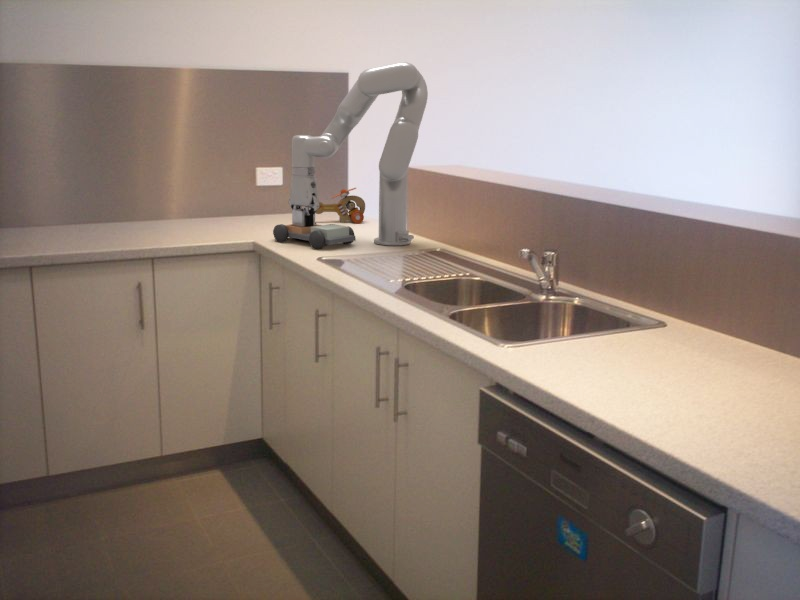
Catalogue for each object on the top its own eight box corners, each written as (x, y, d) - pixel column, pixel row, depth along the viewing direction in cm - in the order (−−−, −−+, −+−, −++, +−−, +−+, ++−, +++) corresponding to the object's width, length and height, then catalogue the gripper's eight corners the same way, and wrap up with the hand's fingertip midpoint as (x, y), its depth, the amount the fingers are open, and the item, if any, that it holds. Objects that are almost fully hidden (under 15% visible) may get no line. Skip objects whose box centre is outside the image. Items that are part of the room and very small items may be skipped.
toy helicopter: (366, 223, 344) (366, 188, 341) (313, 224, 340) (313, 188, 337) (363, 220, 352) (363, 186, 349) (311, 221, 348) (311, 186, 345)
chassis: (358, 245, 296) (358, 226, 295) (325, 251, 285) (325, 231, 284) (302, 235, 314) (302, 217, 313) (269, 240, 303) (269, 221, 302)
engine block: (315, 227, 303) (315, 208, 301) (302, 229, 298) (302, 209, 297) (305, 225, 306) (305, 206, 304) (292, 227, 301) (292, 208, 300)
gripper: (328, 173, 295) (329, 227, 299) (294, 169, 306) (295, 221, 310) (312, 174, 289) (312, 229, 294) (278, 171, 300) (279, 224, 305)
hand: (303, 225), depth 302 cm, fingers closed on engine block, 4 cm apart
